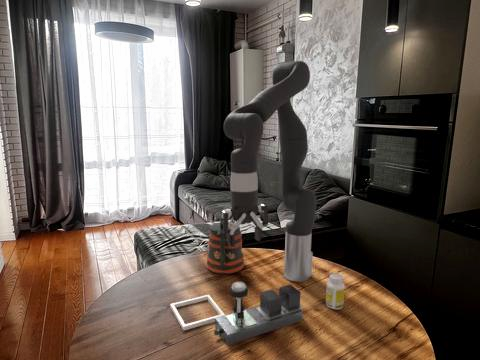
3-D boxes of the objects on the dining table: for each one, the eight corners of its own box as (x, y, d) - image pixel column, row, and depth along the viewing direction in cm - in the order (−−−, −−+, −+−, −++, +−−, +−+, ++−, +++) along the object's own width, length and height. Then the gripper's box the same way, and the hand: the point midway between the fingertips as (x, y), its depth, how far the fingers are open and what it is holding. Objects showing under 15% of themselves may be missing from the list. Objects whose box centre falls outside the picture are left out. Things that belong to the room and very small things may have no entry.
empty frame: (208, 297, 109) (208, 294, 109) (225, 318, 98) (225, 314, 98) (170, 307, 104) (170, 304, 103) (183, 330, 93) (183, 326, 93)
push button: (249, 327, 90) (249, 292, 88) (228, 327, 89) (229, 292, 87) (247, 312, 96) (247, 280, 94) (228, 312, 96) (228, 280, 94)
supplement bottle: (344, 303, 107) (346, 274, 106) (341, 311, 103) (344, 282, 101) (327, 299, 110) (329, 270, 108) (323, 307, 105) (325, 278, 103)
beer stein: (245, 280, 121) (246, 227, 117) (204, 281, 121) (204, 227, 117) (243, 258, 140) (243, 211, 136) (207, 258, 139) (207, 211, 135)
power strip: (289, 305, 106) (290, 281, 104) (305, 319, 99) (306, 293, 97) (209, 329, 93) (209, 302, 92) (221, 347, 86) (221, 318, 85)
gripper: (258, 181, 99) (259, 234, 103) (214, 188, 92) (216, 243, 96) (273, 186, 93) (273, 242, 96) (227, 193, 86) (228, 253, 89)
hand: (244, 243), depth 96 cm, fingers open, 8 cm apart
